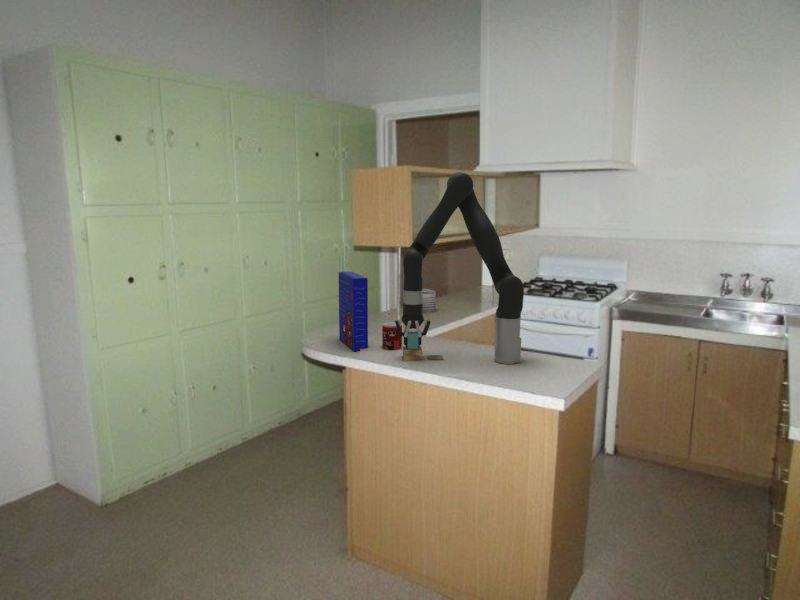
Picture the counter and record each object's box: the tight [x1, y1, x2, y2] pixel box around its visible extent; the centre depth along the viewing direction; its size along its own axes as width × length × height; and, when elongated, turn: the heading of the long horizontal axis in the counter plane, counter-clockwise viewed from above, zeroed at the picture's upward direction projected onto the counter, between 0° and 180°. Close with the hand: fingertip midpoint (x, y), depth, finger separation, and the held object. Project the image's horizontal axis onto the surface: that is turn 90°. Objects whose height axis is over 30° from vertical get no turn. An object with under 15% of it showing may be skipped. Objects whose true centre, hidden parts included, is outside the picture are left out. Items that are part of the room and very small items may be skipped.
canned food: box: [381, 321, 403, 351], centre depth 241 cm, size 8×8×11 cm
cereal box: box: [338, 270, 369, 353], centre depth 247 cm, size 22×6×30 cm, turn 21°
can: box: [422, 288, 437, 314], centre depth 322 cm, size 11×11×12 cm
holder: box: [401, 345, 445, 362], centre depth 227 cm, size 16×7×5 cm, turn 93°
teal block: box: [407, 330, 418, 350], centre depth 226 cm, size 4×4×10 cm
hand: (412, 346), depth 226 cm, fingers closed on teal block, 4 cm apart
